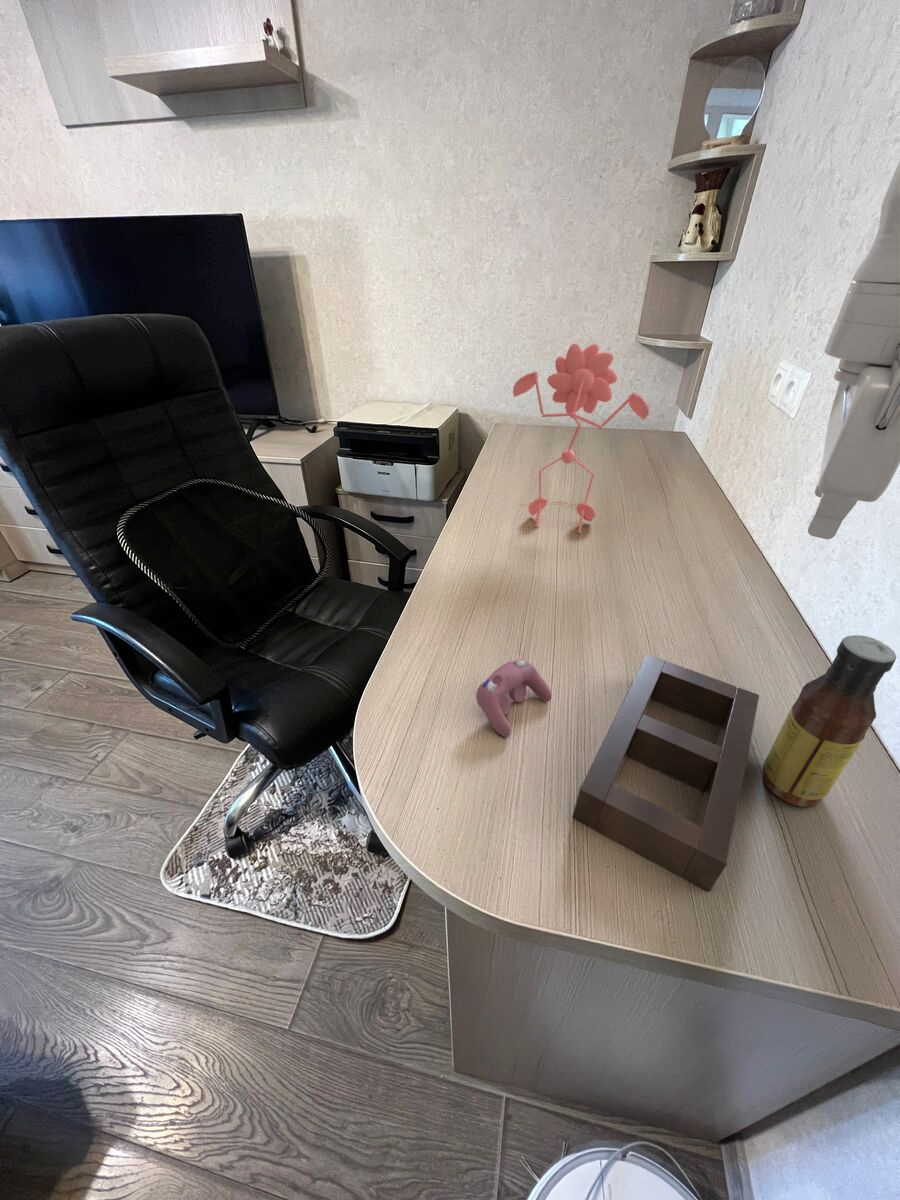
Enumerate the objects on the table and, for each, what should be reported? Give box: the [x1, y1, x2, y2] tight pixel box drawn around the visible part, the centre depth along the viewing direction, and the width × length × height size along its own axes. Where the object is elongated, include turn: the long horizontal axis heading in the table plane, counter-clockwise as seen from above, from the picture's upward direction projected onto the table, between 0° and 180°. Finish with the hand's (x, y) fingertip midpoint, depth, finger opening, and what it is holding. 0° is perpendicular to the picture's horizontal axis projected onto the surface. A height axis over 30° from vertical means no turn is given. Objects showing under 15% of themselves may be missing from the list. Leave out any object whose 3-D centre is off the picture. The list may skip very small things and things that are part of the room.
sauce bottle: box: [761, 634, 897, 808], centre depth 50 cm, size 6×6×20 cm
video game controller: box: [475, 659, 552, 738], centre depth 64 cm, size 10×5×7 cm, turn 135°
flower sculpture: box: [512, 343, 650, 538], centre depth 102 cm, size 15×26×35 cm, turn 74°
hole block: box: [572, 653, 760, 893], centre depth 56 cm, size 14×24×5 cm, turn 147°
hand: (822, 513), depth 43 cm, fingers open, 8 cm apart
